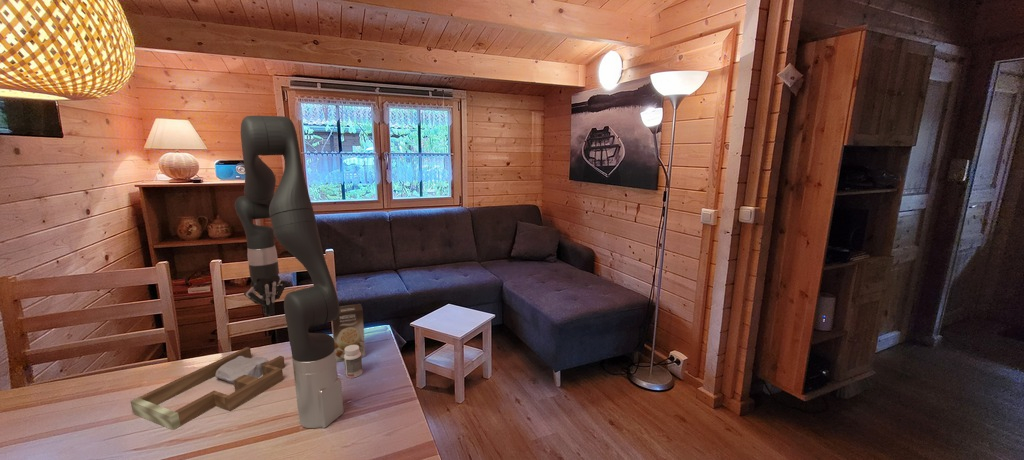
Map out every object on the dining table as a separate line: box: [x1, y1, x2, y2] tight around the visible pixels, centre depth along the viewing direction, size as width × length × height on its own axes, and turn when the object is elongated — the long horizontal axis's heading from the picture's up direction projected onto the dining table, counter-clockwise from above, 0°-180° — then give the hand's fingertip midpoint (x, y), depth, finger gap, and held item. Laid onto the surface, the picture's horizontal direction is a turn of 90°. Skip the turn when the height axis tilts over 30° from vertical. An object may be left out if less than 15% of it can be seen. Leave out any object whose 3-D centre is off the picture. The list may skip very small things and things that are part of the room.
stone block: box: [214, 356, 270, 385], centre depth 115 cm, size 12×5×10 cm
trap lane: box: [130, 346, 286, 431], centre depth 107 cm, size 22×30×4 cm
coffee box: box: [331, 303, 366, 363], centre depth 125 cm, size 9×6×16 cm
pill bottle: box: [343, 345, 363, 379], centre depth 115 cm, size 5×5×8 cm
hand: (269, 314), depth 122 cm, fingers closed
